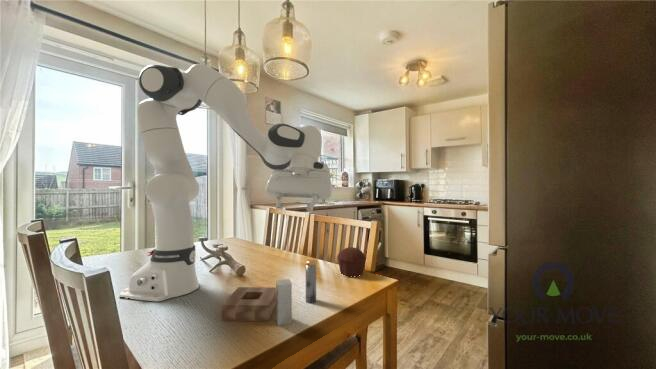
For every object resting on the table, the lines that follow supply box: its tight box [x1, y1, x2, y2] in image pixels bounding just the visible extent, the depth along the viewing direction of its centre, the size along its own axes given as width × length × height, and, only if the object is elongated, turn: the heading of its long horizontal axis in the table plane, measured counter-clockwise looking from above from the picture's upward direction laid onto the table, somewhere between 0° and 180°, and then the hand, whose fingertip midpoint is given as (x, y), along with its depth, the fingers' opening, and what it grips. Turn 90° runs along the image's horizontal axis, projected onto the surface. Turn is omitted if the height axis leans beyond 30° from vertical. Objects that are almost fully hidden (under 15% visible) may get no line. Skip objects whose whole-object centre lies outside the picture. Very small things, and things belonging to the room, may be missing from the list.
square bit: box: [275, 278, 293, 327], centre depth 68 cm, size 3×3×10 cm
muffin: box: [336, 246, 367, 278], centre depth 104 cm, size 12×11×10 cm
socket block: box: [221, 286, 276, 322], centre depth 74 cm, size 12×12×4 cm
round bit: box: [305, 259, 317, 304], centre depth 80 cm, size 3×3×12 cm
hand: (293, 209), depth 77 cm, fingers open, 8 cm apart
